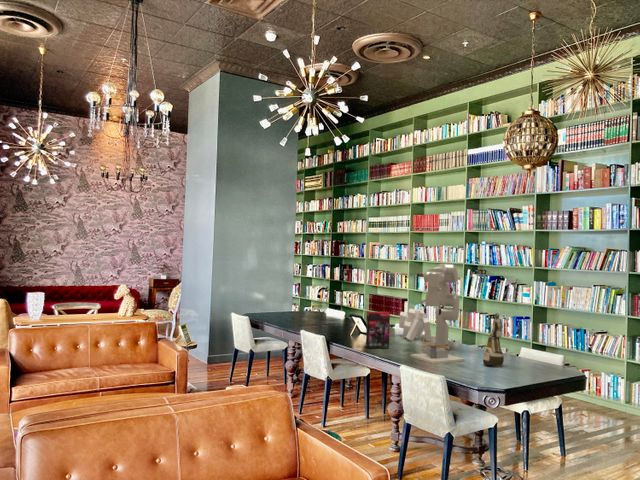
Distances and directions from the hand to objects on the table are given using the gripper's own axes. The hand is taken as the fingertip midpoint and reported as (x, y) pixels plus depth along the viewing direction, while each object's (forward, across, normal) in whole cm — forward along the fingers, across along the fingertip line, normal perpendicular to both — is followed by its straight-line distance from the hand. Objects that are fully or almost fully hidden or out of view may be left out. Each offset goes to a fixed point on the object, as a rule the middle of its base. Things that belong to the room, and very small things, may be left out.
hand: (432, 314), depth 350 cm
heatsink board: (+31, -4, -2) cm, 31 cm away
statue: (+31, -41, 0) cm, 51 cm away
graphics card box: (+31, +42, -19) cm, 55 cm away
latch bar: (+24, -3, -8) cm, 25 cm away
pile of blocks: (+31, +22, -78) cm, 87 cm away
